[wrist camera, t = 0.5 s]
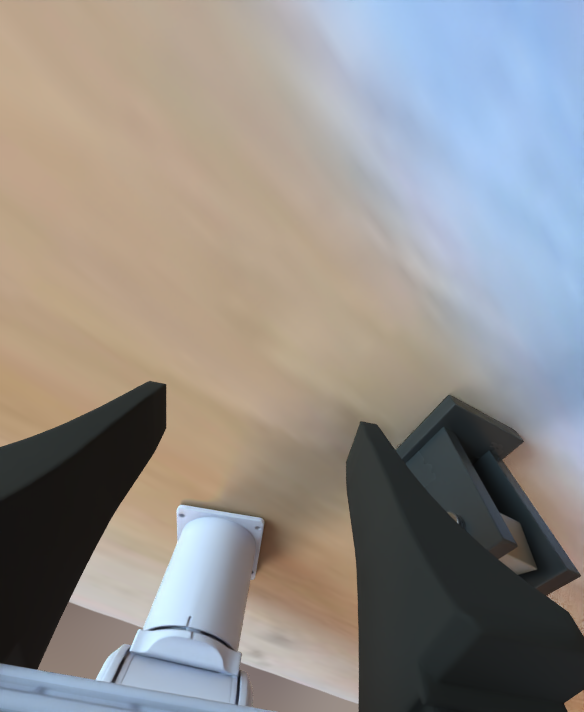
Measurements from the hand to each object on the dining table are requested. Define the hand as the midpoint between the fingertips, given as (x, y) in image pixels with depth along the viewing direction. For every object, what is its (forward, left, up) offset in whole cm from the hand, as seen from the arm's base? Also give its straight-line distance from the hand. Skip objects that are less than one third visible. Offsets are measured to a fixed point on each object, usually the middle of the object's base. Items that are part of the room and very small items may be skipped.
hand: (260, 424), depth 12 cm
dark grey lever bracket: (-8, -13, -10) cm, 18 cm away
